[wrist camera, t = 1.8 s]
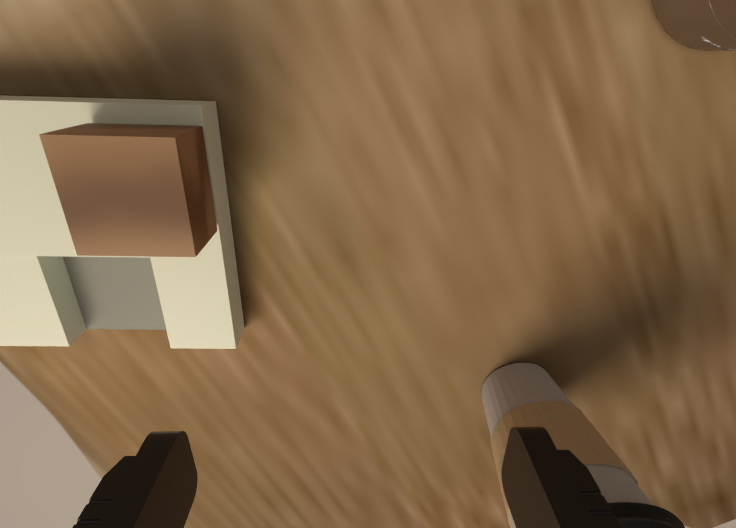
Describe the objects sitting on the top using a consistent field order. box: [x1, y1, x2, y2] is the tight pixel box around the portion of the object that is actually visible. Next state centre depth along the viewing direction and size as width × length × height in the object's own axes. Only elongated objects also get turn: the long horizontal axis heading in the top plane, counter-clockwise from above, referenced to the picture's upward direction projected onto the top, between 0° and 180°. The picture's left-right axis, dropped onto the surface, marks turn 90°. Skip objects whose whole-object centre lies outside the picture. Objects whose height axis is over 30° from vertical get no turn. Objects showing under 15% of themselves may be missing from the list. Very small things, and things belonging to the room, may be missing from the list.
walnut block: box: [39, 123, 217, 257], centre depth 22 cm, size 6×6×4 cm
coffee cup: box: [482, 363, 685, 528], centre depth 28 cm, size 9×9×15 cm
